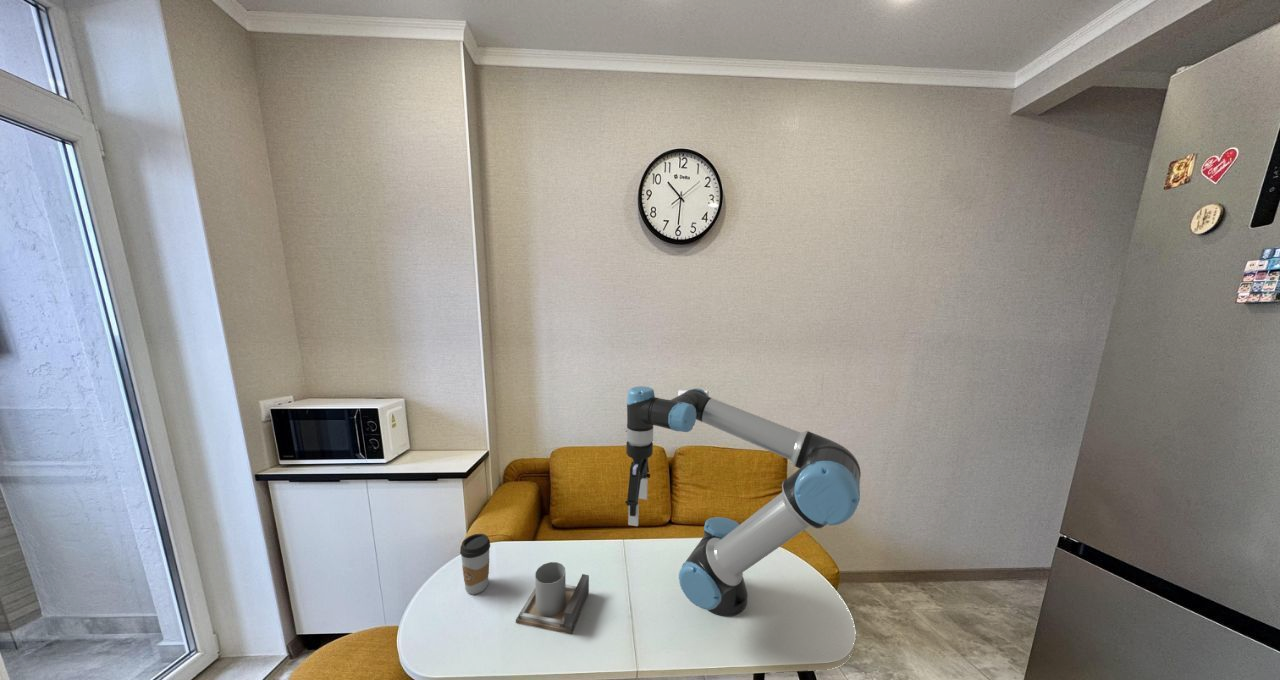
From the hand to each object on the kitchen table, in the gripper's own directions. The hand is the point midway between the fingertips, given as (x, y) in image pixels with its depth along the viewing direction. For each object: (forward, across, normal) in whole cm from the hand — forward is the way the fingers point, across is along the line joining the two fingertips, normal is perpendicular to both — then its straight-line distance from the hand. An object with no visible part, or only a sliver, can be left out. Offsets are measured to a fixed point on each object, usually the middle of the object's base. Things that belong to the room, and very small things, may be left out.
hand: (638, 510), depth 110 cm
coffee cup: (+27, +8, -48) cm, 56 cm away
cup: (+26, +10, -23) cm, 36 cm away
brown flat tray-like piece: (+27, +10, -22) cm, 36 cm away
